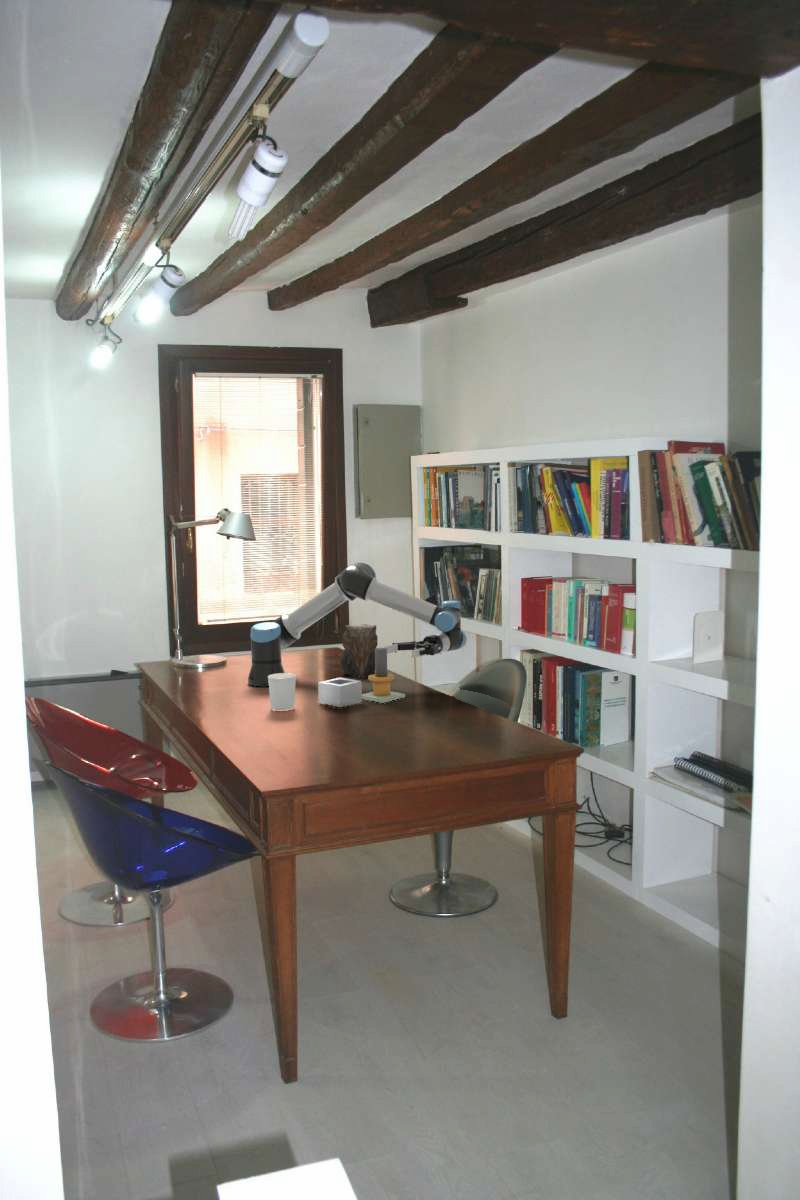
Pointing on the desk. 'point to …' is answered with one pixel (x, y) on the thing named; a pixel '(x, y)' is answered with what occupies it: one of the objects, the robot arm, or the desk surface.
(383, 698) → the mat
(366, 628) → the owl
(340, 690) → the block
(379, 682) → the end cover
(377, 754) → the desk surface
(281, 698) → the candle holder
